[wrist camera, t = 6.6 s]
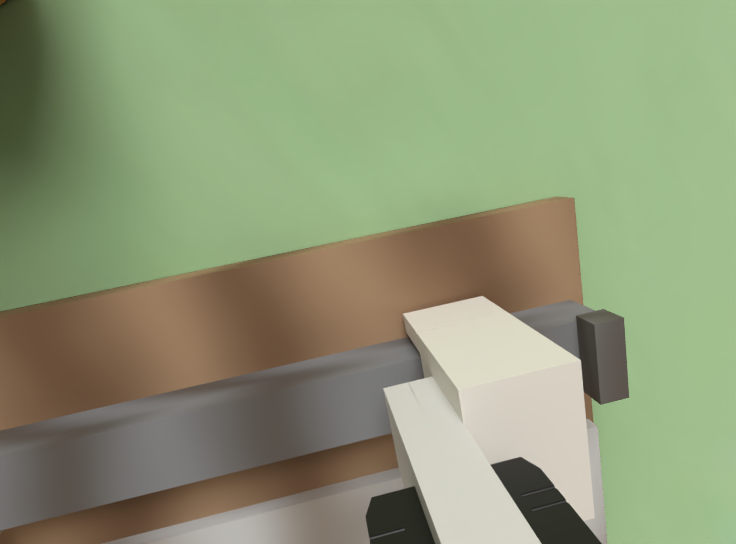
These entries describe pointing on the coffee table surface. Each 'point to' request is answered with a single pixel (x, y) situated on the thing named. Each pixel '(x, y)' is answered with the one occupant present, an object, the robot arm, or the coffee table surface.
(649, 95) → the coffee table surface
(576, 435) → the slider head
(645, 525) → the coffee table surface
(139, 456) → the gauge
